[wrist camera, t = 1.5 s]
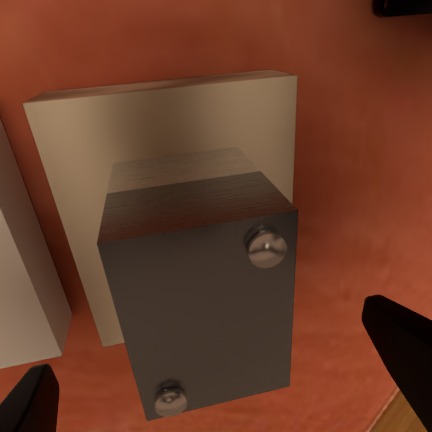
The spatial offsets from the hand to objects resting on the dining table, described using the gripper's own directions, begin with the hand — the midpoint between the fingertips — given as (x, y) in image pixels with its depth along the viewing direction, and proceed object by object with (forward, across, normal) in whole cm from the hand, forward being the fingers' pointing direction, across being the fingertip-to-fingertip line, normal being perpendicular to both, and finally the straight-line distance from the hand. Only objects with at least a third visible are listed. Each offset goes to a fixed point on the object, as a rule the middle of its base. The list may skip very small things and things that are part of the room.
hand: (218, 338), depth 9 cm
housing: (+6, 0, 0) cm, 6 cm away
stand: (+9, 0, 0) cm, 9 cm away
